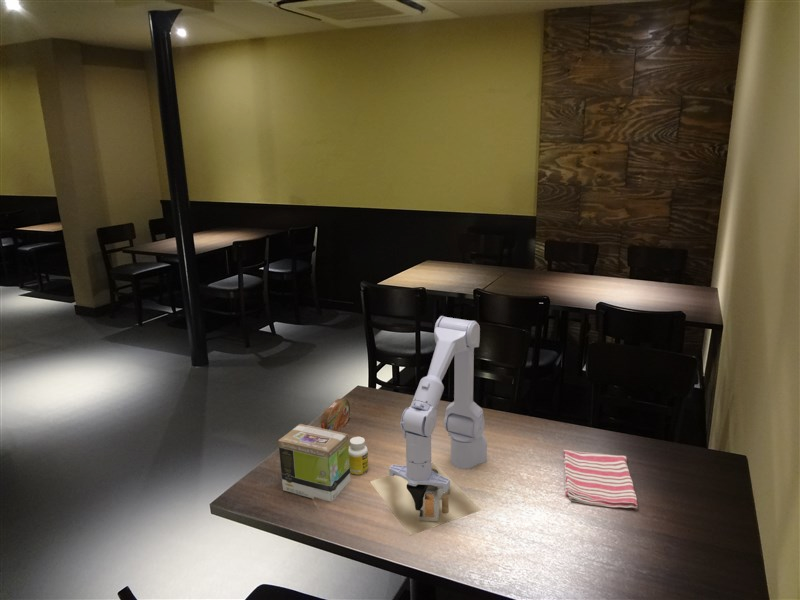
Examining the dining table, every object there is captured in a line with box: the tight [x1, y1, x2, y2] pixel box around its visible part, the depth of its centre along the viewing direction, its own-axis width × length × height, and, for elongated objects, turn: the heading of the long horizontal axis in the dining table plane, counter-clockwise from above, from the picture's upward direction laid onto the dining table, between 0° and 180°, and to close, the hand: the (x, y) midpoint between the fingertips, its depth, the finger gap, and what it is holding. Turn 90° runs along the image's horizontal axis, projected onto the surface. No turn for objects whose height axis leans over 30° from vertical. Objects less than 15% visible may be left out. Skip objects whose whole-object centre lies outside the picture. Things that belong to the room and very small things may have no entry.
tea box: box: [277, 423, 351, 502], centre depth 142 cm, size 15×10×15 cm
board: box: [369, 462, 482, 536], centre depth 138 cm, size 19×23×1 cm
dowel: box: [442, 495, 449, 513], centre depth 132 cm, size 2×2×4 cm
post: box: [427, 468, 438, 491], centre depth 140 cm, size 3×3×5 cm
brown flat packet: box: [320, 398, 351, 432], centre depth 172 cm, size 15×3×8 cm, turn 159°
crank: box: [419, 487, 450, 521], centre depth 136 cm, size 17×9×5 cm, turn 174°
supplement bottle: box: [349, 436, 369, 476], centre depth 149 cm, size 5×5×10 cm
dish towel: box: [562, 449, 639, 511], centre depth 145 cm, size 17×23×4 cm
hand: (419, 507), depth 131 cm, fingers closed
